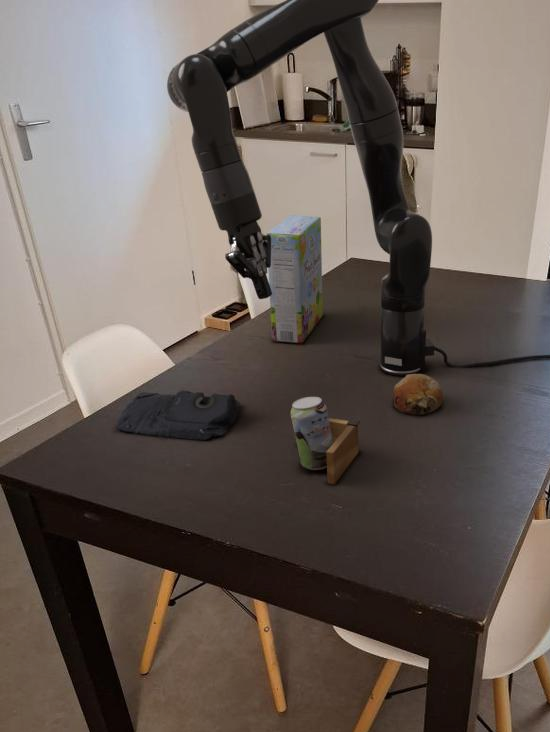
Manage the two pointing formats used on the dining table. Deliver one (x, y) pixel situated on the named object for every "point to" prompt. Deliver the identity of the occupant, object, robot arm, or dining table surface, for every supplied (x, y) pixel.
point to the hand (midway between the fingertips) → (265, 297)
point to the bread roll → (417, 394)
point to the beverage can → (311, 432)
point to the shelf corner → (341, 447)
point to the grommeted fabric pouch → (179, 415)
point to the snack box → (295, 278)
